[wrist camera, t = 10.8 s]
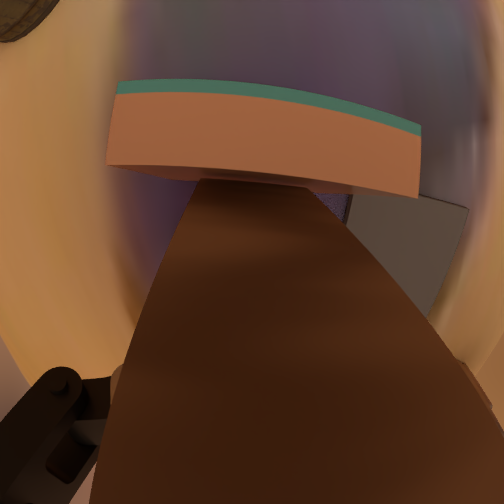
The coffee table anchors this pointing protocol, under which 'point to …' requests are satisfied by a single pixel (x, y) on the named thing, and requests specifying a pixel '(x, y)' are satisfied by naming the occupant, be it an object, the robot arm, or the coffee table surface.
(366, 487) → the tall wooden block
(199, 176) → the tile
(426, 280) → the rest mat
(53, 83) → the coffee table surface
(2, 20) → the olive canister
